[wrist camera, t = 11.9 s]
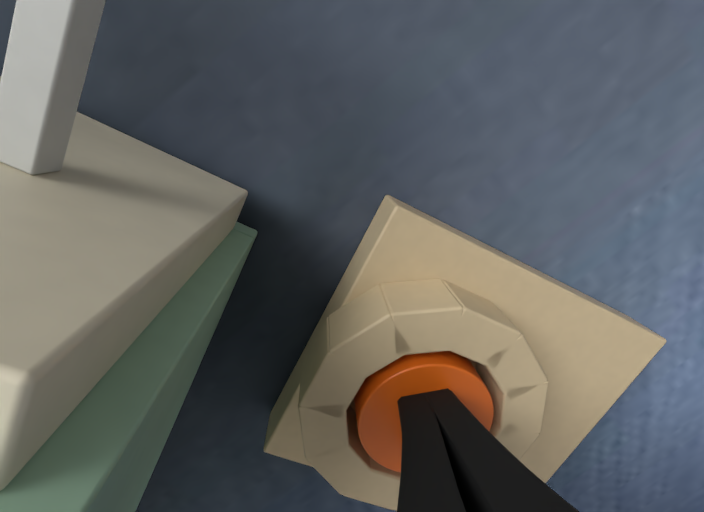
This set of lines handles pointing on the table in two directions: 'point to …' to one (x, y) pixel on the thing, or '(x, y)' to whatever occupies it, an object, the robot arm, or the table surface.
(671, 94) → the table surface
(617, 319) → the control block
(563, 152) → the table surface
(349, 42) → the table surface
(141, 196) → the cream pull-out drawer
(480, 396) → the button
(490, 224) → the table surface
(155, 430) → the green drawer cabinet
